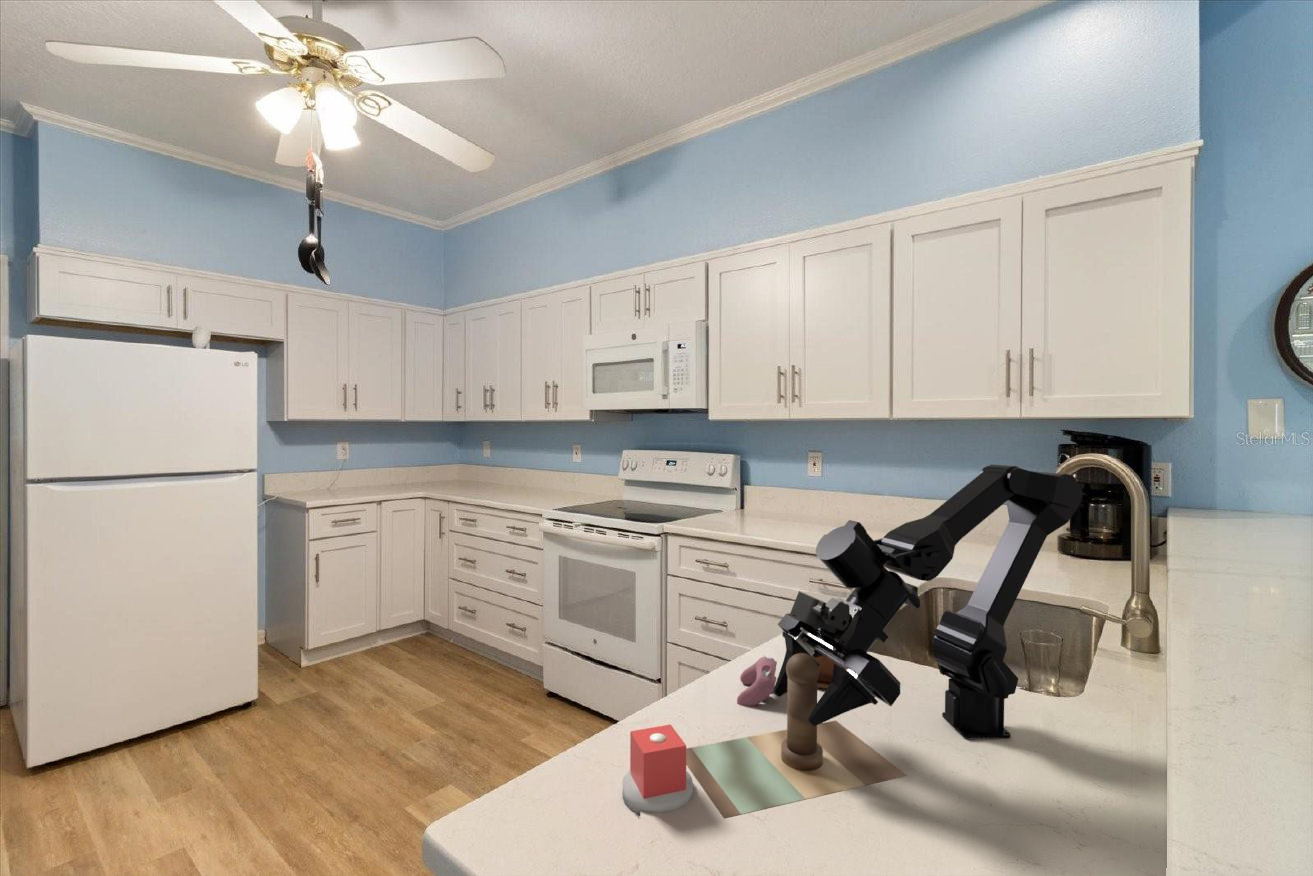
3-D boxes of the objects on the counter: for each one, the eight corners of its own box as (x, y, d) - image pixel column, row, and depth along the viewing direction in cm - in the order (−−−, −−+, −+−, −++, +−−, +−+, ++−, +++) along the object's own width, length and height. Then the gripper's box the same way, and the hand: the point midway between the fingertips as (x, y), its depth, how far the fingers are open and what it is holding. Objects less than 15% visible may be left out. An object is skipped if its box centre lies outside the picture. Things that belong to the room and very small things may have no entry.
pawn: (816, 748, 78) (816, 646, 77) (827, 770, 73) (828, 662, 72) (777, 748, 78) (778, 646, 77) (786, 771, 73) (787, 662, 72)
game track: (835, 724, 85) (835, 720, 85) (907, 780, 72) (907, 775, 72) (676, 755, 77) (676, 750, 77) (724, 823, 64) (724, 818, 64)
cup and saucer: (779, 685, 98) (779, 647, 98) (805, 661, 108) (805, 627, 108) (854, 704, 92) (854, 664, 92) (874, 676, 102) (874, 640, 102)
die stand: (677, 769, 74) (677, 715, 74) (703, 808, 66) (704, 749, 66) (614, 781, 71) (614, 726, 71) (634, 824, 64) (634, 762, 64)
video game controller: (761, 722, 89) (783, 682, 88) (733, 706, 90) (755, 666, 89) (763, 693, 99) (783, 656, 98) (738, 678, 99) (757, 642, 99)
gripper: (790, 554, 85) (718, 642, 81) (880, 589, 67) (793, 702, 64) (837, 605, 87) (769, 691, 84) (936, 651, 70) (855, 762, 67)
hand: (792, 708), depth 75 cm, fingers open, 8 cm apart
